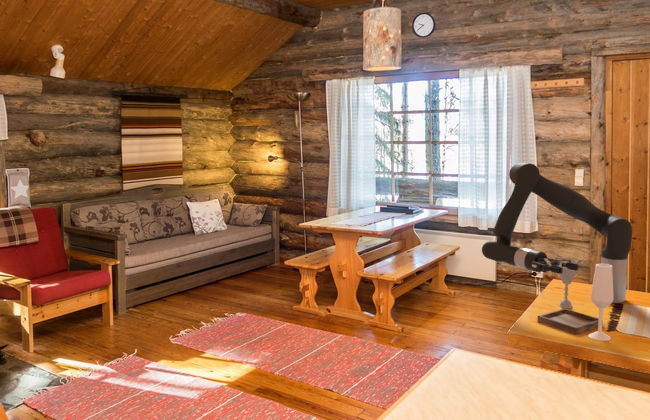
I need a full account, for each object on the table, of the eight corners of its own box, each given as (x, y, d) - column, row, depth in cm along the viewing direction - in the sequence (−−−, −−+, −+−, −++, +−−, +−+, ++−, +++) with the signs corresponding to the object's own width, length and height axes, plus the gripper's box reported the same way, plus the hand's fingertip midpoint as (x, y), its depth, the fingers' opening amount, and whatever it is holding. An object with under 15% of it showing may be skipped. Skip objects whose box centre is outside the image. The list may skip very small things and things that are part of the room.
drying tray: (564, 314, 210) (564, 308, 210) (602, 325, 198) (602, 319, 197) (537, 321, 202) (537, 315, 202) (575, 334, 190) (575, 328, 189)
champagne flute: (612, 341, 183) (617, 268, 180) (589, 339, 185) (594, 267, 182) (609, 334, 190) (613, 263, 186) (586, 332, 192) (591, 262, 188)
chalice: (578, 309, 216) (581, 262, 213) (560, 309, 216) (562, 262, 213) (570, 303, 223) (573, 258, 220) (552, 303, 223) (555, 258, 220)
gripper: (517, 251, 204) (557, 260, 190) (543, 247, 211) (583, 256, 198) (516, 272, 205) (555, 282, 191) (542, 267, 212) (582, 277, 199)
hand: (570, 269), depth 194 cm, fingers open, 8 cm apart
